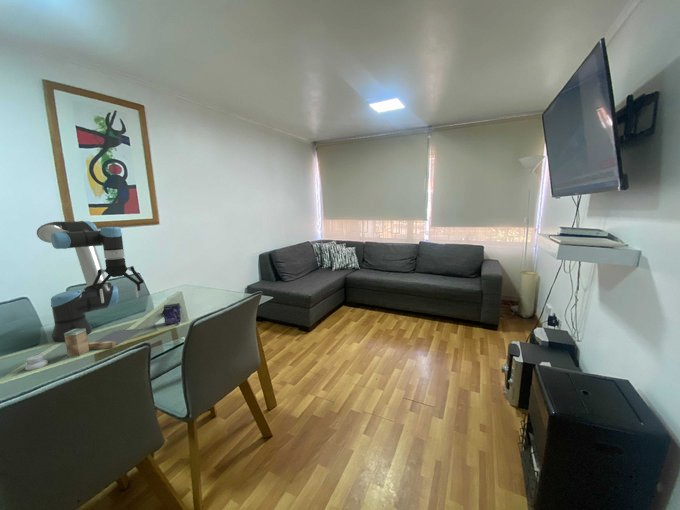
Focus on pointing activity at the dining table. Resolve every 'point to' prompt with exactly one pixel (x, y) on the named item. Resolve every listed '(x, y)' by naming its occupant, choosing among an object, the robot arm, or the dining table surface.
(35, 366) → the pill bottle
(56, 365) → the dining table surface
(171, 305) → the box
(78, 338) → the block
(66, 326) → the robot arm
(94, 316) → the dining table surface
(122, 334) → the mat
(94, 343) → the strip
